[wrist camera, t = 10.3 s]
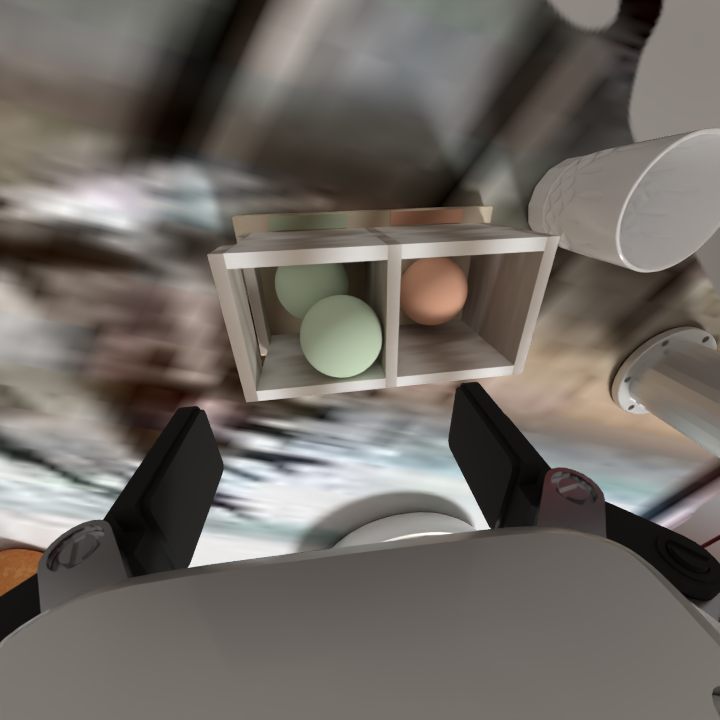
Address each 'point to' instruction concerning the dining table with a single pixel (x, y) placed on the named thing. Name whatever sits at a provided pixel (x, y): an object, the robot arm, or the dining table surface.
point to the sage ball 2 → (341, 336)
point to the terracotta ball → (433, 290)
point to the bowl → (405, 528)
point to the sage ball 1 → (309, 285)
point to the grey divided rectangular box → (383, 295)
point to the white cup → (634, 201)
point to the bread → (17, 567)
